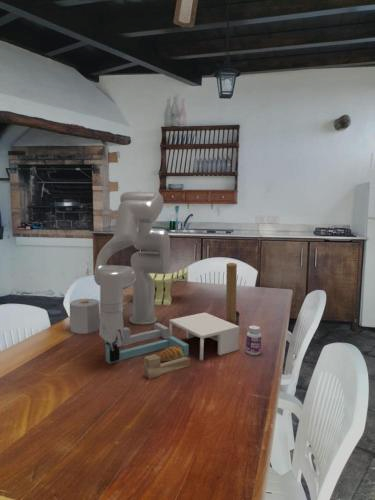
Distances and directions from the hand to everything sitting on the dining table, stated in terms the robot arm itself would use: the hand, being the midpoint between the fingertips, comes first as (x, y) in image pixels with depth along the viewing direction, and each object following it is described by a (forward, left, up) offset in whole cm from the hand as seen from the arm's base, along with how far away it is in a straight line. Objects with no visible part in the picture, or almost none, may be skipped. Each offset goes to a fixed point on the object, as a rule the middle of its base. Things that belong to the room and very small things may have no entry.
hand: (112, 358), depth 130 cm
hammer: (-1, +56, -1) cm, 56 cm away
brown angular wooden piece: (+17, +12, -1) cm, 20 cm away
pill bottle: (+22, +46, -1) cm, 51 cm away
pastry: (+9, +18, -1) cm, 20 cm away
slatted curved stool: (-56, +54, -1) cm, 78 cm away
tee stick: (-11, +18, -1) cm, 21 cm away
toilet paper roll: (-35, +4, -1) cm, 36 cm away
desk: (+7, +34, -1) cm, 34 cm away
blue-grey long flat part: (+5, +11, -1) cm, 12 cm away
